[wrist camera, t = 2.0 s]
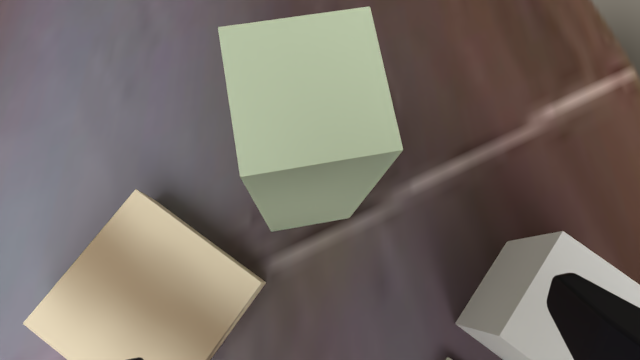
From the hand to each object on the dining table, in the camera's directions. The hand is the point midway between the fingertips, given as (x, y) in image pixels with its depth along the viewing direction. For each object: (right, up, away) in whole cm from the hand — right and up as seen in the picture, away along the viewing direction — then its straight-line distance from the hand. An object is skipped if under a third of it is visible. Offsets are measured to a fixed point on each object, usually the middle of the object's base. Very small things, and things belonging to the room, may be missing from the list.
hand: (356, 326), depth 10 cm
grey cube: (+9, -3, +12) cm, 16 cm away
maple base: (-8, -3, +12) cm, 15 cm away
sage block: (-2, +3, +13) cm, 14 cm away
